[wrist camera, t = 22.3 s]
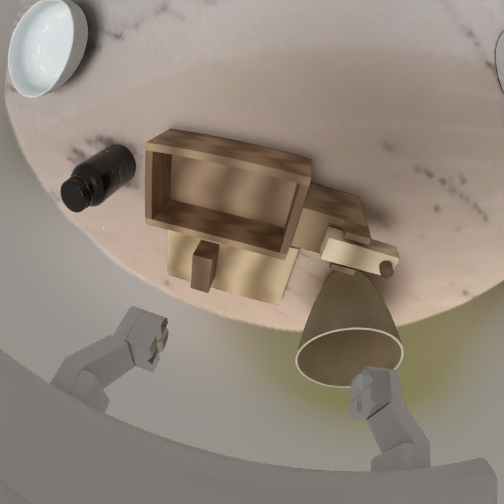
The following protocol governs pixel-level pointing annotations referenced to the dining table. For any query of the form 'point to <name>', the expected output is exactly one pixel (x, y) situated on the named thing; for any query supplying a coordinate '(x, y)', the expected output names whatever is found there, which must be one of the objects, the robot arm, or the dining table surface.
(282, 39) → the dining table surface
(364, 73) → the dining table surface
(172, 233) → the lid
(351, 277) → the plant pot
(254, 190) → the open wooden box
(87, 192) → the supplement bottle
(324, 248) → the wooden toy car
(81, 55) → the cereal bowl
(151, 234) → the dining table surface
